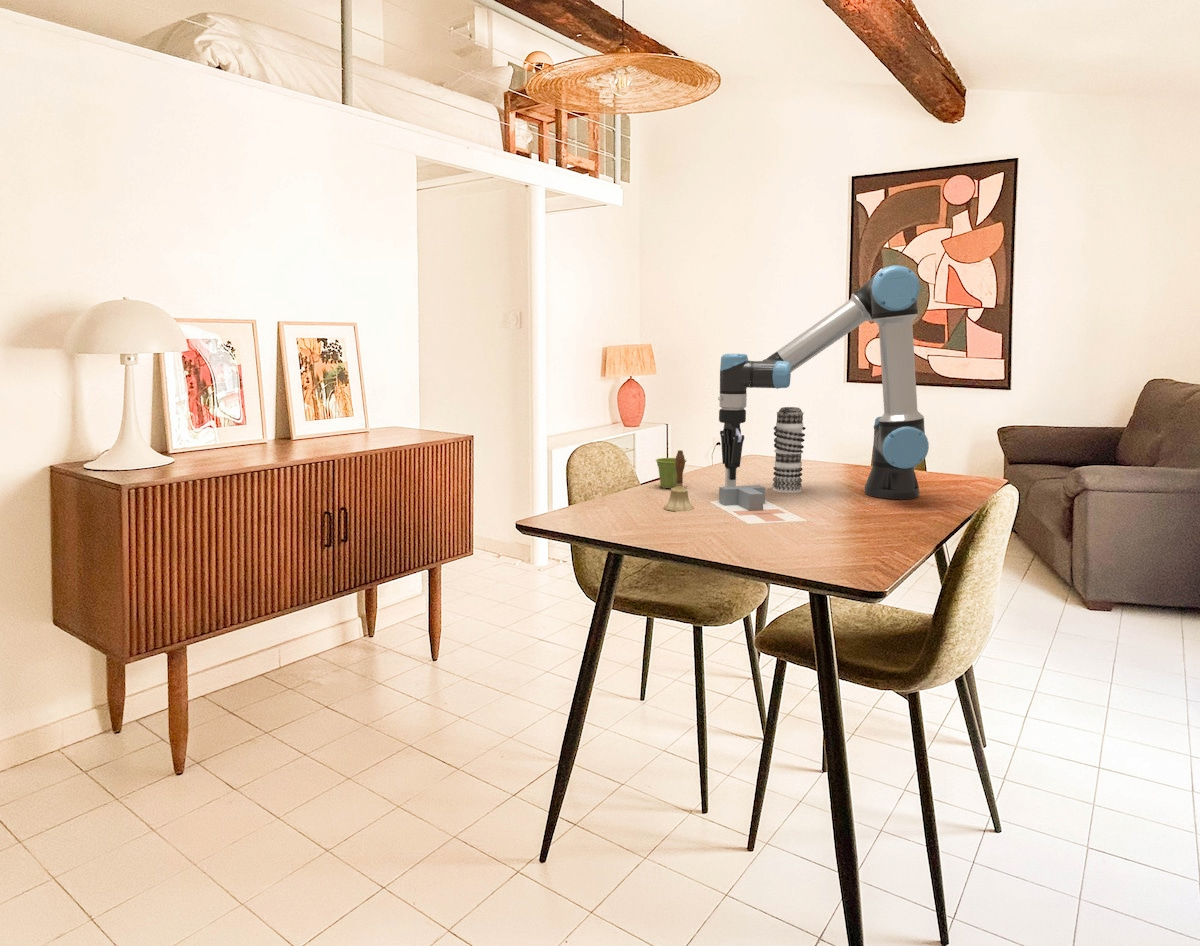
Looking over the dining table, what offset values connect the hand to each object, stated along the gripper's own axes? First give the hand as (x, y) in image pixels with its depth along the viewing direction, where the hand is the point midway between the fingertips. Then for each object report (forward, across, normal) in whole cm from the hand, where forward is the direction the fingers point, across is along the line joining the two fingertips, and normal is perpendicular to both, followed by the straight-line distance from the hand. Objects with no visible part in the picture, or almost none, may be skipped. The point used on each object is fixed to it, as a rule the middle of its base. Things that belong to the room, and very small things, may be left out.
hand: (730, 490), depth 240 cm
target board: (+2, +19, 0) cm, 19 cm away
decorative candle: (+2, -7, +21) cm, 22 cm away
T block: (+2, +13, 0) cm, 13 cm away
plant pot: (+3, -19, -12) cm, 23 cm away
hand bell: (+3, +11, -19) cm, 22 cm away
